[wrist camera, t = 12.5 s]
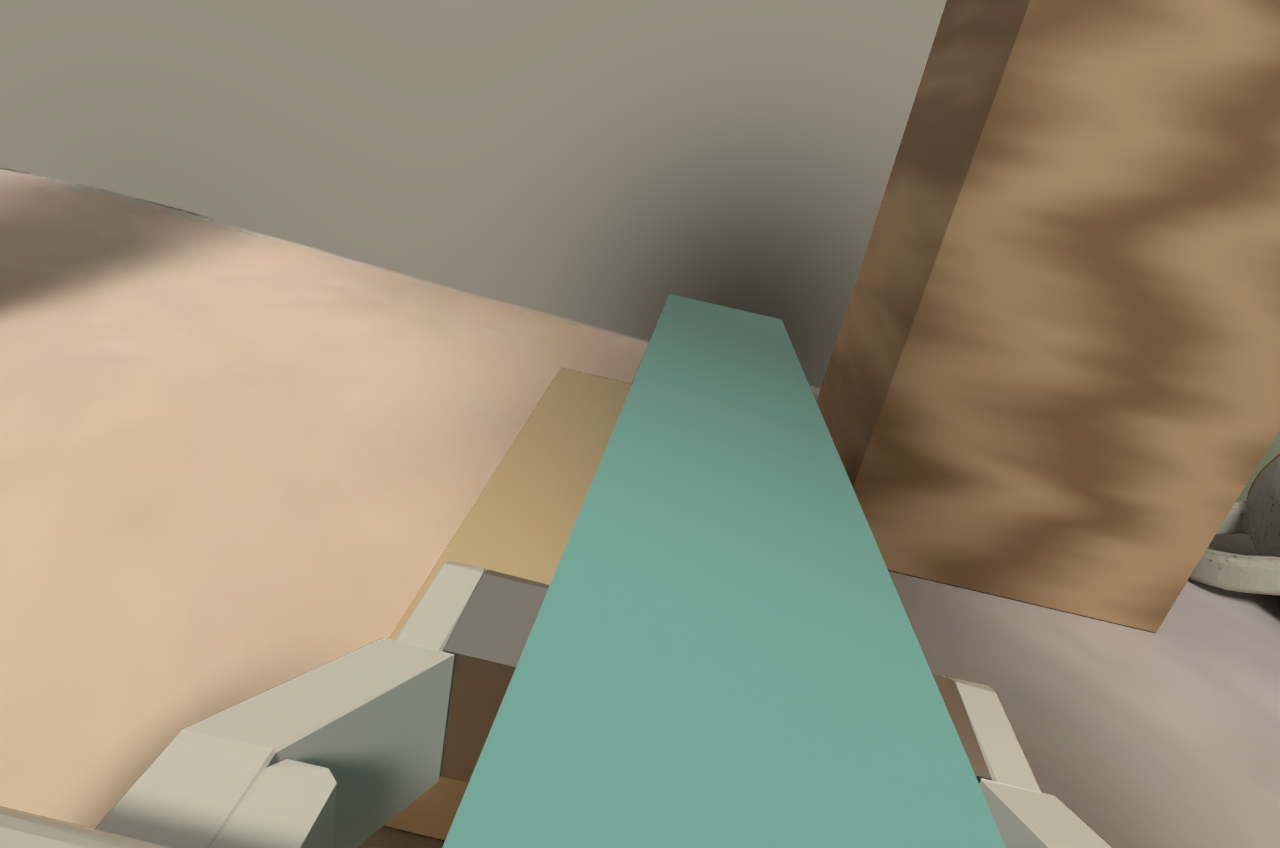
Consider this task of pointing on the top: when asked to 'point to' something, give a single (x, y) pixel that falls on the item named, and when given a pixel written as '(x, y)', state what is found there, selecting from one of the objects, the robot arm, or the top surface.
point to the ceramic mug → (1276, 527)
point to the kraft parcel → (526, 522)
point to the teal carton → (722, 637)
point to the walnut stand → (1070, 302)
